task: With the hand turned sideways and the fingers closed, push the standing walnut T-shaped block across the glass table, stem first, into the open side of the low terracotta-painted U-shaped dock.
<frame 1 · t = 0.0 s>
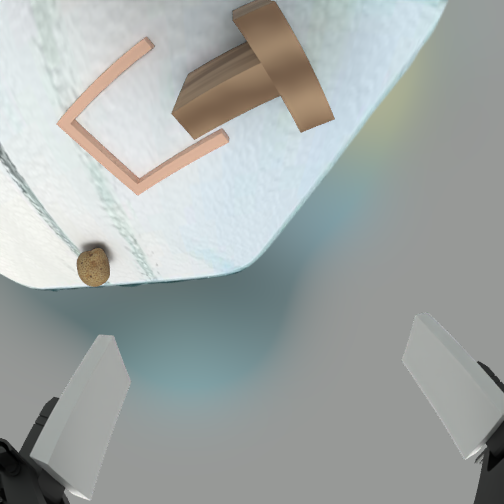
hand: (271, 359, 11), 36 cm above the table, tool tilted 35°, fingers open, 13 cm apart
brown round lump: (98, 248, 62), on the table
dock: (139, 123, 37), on the table
tee block: (239, 60, 30), on the table
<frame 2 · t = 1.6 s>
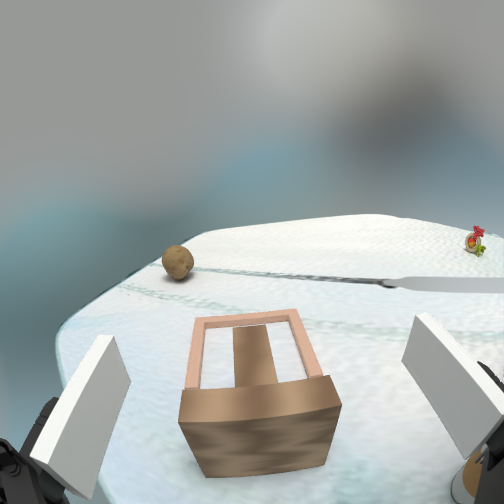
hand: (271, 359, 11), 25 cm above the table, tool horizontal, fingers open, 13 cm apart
brown round lump: (181, 278, 79), on the table
coffee cup: (469, 486, 14), on the table
dock: (249, 349, 48), on the table
tee block: (259, 431, 31), on the table
bird rattle: (473, 254, 79), on the table
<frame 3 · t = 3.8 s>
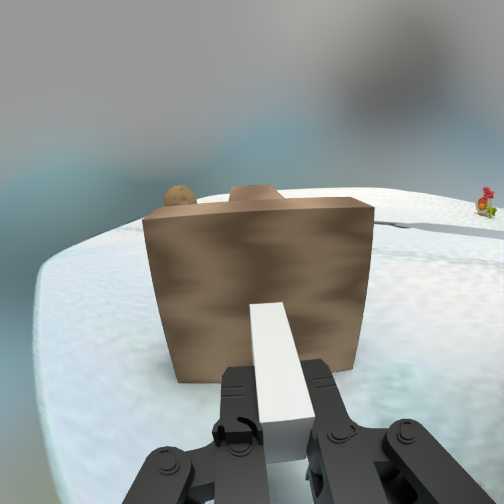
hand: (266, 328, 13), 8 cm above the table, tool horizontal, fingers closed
brown round lump: (182, 221, 75), on the table
tee block: (260, 330, 27), on the table
bird rattle: (484, 216, 72), on the table
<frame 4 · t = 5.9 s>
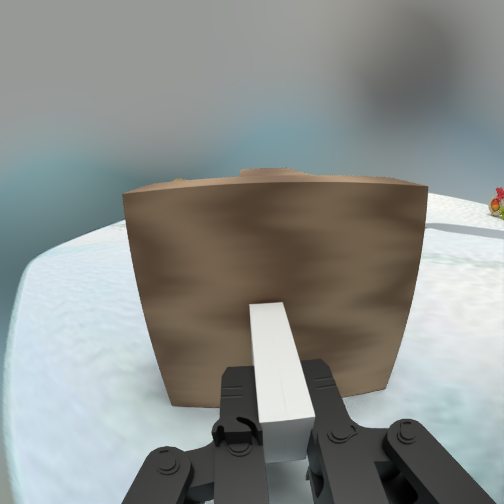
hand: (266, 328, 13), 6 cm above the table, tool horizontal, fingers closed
tee block: (273, 339, 22), on the table, touching gripper
bird rattle: (497, 218, 66), on the table
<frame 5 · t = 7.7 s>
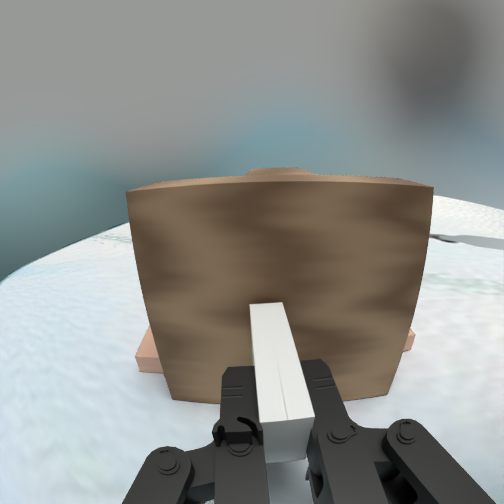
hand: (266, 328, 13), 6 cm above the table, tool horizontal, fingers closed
dock: (270, 302, 28), on the table
tee block: (279, 339, 22), on the table, touching gripper
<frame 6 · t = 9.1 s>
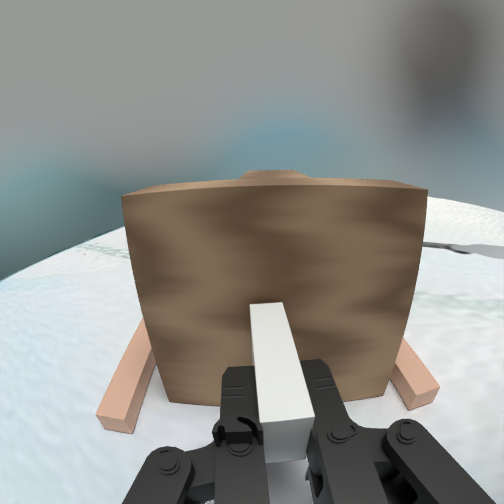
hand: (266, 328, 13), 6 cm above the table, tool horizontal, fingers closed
dock: (263, 338, 22), on the table
tee block: (275, 341, 22), on the table, touching gripper
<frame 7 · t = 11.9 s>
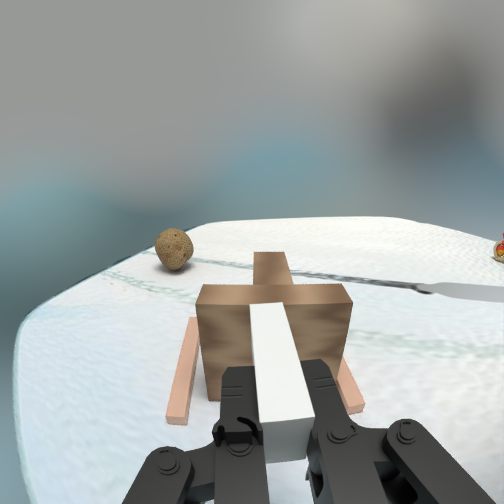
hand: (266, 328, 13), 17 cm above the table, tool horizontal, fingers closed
brown round lump: (176, 269, 66), on the table
dock: (260, 365, 34), on the table
tee block: (269, 363, 35), on the table
bird rattle: (501, 263, 65), on the table
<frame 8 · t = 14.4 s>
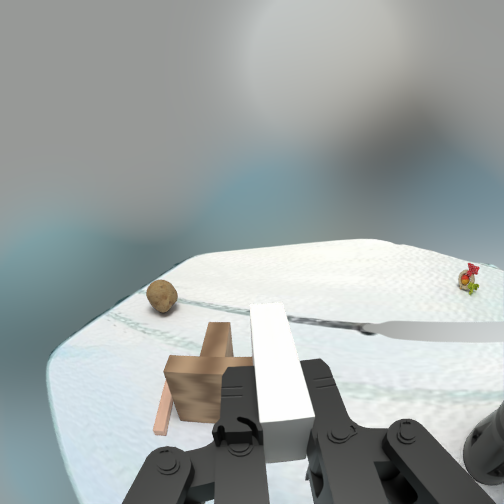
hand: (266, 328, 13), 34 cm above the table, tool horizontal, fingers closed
brown round lump: (165, 311, 79), on the table
dock: (216, 397, 48), on the table
tee block: (222, 395, 48), on the table
bird rattle: (465, 291, 77), on the table
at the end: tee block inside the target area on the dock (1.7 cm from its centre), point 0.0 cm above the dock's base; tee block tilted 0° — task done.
